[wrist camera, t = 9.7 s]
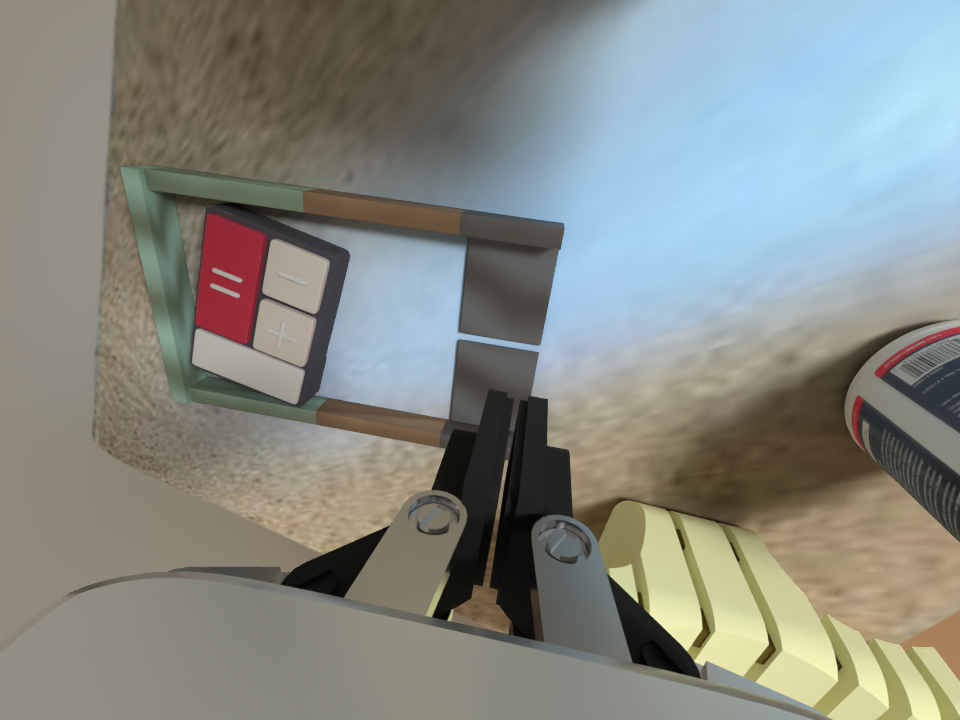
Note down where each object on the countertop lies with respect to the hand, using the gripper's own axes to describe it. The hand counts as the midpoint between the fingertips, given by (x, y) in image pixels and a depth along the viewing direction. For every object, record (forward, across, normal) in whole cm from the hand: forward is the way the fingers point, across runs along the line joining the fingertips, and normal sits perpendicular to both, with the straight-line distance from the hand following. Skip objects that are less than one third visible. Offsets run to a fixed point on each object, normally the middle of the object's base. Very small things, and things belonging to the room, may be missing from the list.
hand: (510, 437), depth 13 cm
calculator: (+25, +22, +8) cm, 35 cm away
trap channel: (+25, +15, +8) cm, 30 cm away
